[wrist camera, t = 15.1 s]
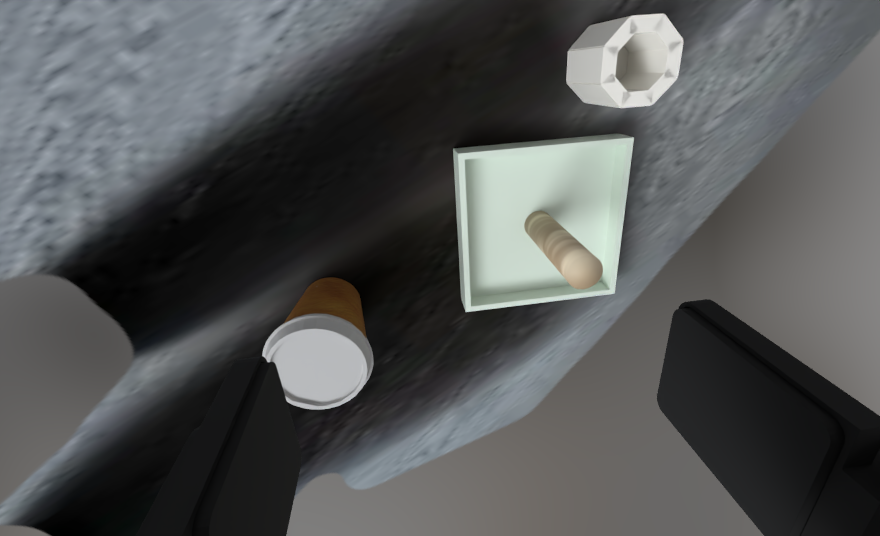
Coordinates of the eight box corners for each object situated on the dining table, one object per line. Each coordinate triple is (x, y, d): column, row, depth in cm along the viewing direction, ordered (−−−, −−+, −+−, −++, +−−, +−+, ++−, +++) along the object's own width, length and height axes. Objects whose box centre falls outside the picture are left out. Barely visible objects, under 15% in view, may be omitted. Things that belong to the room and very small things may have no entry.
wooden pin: (524, 212, 44) (567, 258, 33) (552, 209, 44) (604, 253, 33) (524, 238, 45) (565, 291, 34) (551, 235, 45) (601, 287, 35)
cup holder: (569, 26, 38) (606, 17, 32) (638, 21, 39) (688, 11, 32) (564, 104, 41) (597, 110, 35) (629, 99, 41) (673, 103, 35)
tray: (453, 148, 41) (458, 153, 39) (618, 133, 43) (634, 137, 40) (461, 298, 49) (465, 311, 46) (602, 281, 50) (614, 293, 47)
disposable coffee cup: (268, 299, 46) (233, 369, 35) (333, 246, 44) (317, 302, 33) (331, 352, 50) (316, 430, 39) (392, 305, 48) (395, 372, 37)
